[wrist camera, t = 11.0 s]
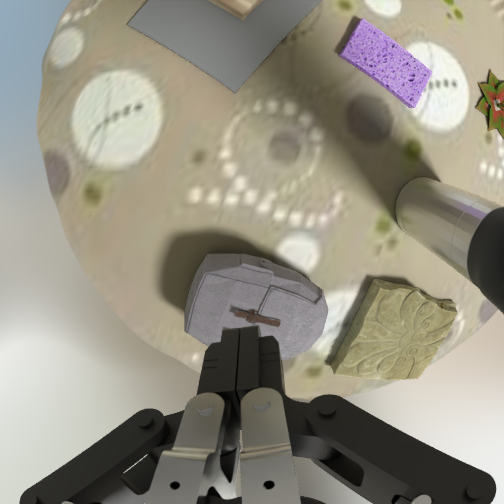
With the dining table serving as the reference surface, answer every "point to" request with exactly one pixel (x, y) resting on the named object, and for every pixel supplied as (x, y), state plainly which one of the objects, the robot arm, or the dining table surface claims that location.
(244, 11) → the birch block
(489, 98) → the green leafy rosette
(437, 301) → the decorative tile
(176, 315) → the dining table surface
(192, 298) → the small grey backpack
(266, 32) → the rubber mat
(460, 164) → the dining table surface
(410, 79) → the sponges
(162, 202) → the dining table surface
